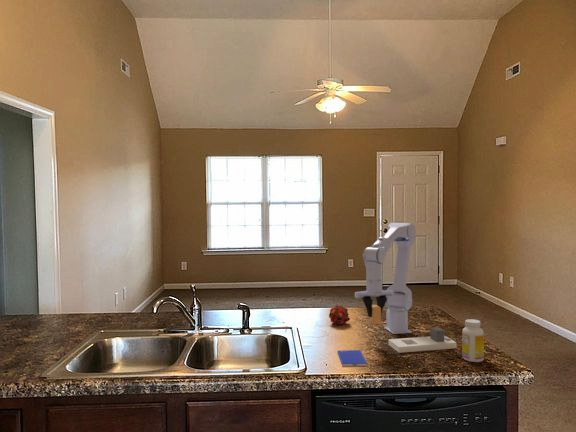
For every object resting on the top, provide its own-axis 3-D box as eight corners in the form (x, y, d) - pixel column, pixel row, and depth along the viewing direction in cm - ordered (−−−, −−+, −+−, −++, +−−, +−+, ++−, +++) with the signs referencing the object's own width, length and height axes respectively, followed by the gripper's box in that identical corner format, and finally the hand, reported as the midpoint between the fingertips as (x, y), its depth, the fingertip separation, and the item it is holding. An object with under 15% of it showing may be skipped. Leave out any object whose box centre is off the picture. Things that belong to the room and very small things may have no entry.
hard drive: (337, 350, 158) (341, 363, 146) (360, 349, 158) (367, 362, 146) (337, 354, 158) (342, 368, 146) (360, 354, 159) (367, 367, 146)
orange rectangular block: (368, 321, 169) (368, 305, 169) (376, 320, 170) (376, 304, 170) (373, 324, 165) (373, 307, 165) (380, 323, 166) (380, 307, 165)
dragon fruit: (340, 323, 203) (341, 335, 191) (324, 312, 203) (324, 323, 191) (351, 308, 201) (353, 319, 190) (336, 298, 201) (336, 308, 189)
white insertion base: (388, 344, 167) (388, 328, 167) (443, 340, 171) (443, 324, 171) (399, 352, 158) (398, 335, 158) (456, 348, 162) (456, 331, 162)
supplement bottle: (485, 357, 152) (485, 319, 151) (482, 364, 146) (482, 324, 146) (464, 354, 155) (464, 317, 155) (460, 360, 149) (460, 322, 149)
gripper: (359, 282, 162) (359, 320, 162) (397, 280, 165) (397, 317, 165) (352, 279, 169) (353, 315, 169) (389, 277, 171) (389, 313, 172)
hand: (374, 316), depth 168 cm, fingers closed on orange rectangular block, 3 cm apart
